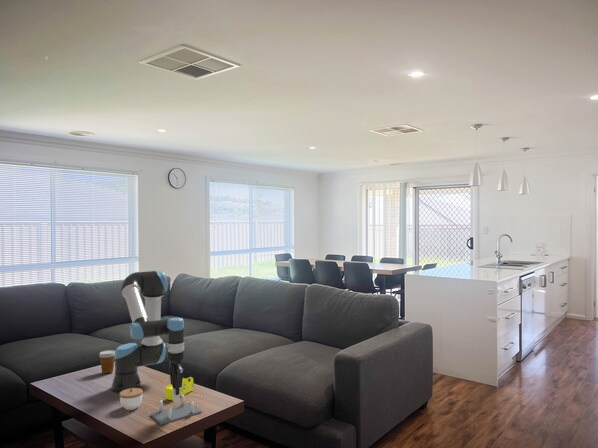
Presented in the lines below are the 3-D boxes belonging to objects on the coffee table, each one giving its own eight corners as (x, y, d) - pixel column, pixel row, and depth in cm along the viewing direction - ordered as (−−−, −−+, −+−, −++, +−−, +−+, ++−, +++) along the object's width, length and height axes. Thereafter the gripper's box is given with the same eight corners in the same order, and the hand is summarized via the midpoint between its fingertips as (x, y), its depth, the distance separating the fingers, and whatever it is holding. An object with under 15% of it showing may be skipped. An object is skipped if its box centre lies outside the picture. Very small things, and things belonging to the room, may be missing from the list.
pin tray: (150, 415, 212) (150, 402, 212) (190, 404, 224) (190, 392, 224) (161, 425, 202) (161, 411, 202) (202, 413, 214) (201, 400, 214)
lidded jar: (129, 414, 214) (128, 394, 214) (114, 409, 220) (114, 390, 220) (147, 406, 223) (147, 387, 223) (133, 401, 229) (133, 383, 229)
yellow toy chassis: (173, 402, 228) (173, 385, 228) (164, 400, 231) (164, 384, 231) (194, 391, 243) (194, 375, 243) (185, 389, 245) (185, 374, 245)
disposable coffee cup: (95, 373, 271) (95, 354, 271) (105, 368, 280) (104, 349, 280) (110, 374, 269) (110, 354, 269) (119, 369, 279) (118, 350, 279)
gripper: (162, 349, 216) (163, 398, 216) (173, 355, 205) (174, 407, 206) (177, 346, 220) (178, 394, 220) (189, 352, 210) (189, 403, 210)
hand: (176, 400), depth 213 cm, fingers closed
